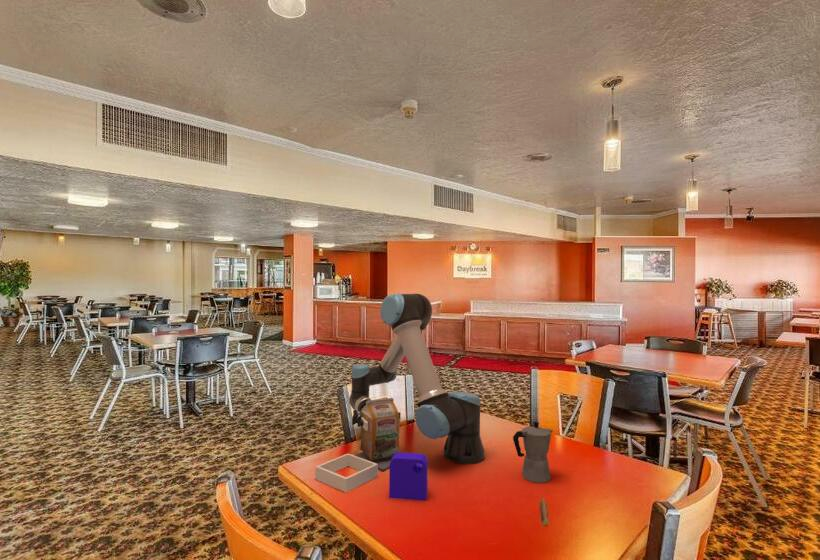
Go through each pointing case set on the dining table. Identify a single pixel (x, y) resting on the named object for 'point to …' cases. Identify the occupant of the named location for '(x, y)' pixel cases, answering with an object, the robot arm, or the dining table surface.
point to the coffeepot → (534, 452)
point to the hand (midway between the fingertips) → (383, 424)
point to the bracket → (408, 476)
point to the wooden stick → (544, 512)
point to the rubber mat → (377, 461)
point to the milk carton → (380, 429)
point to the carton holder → (346, 484)
